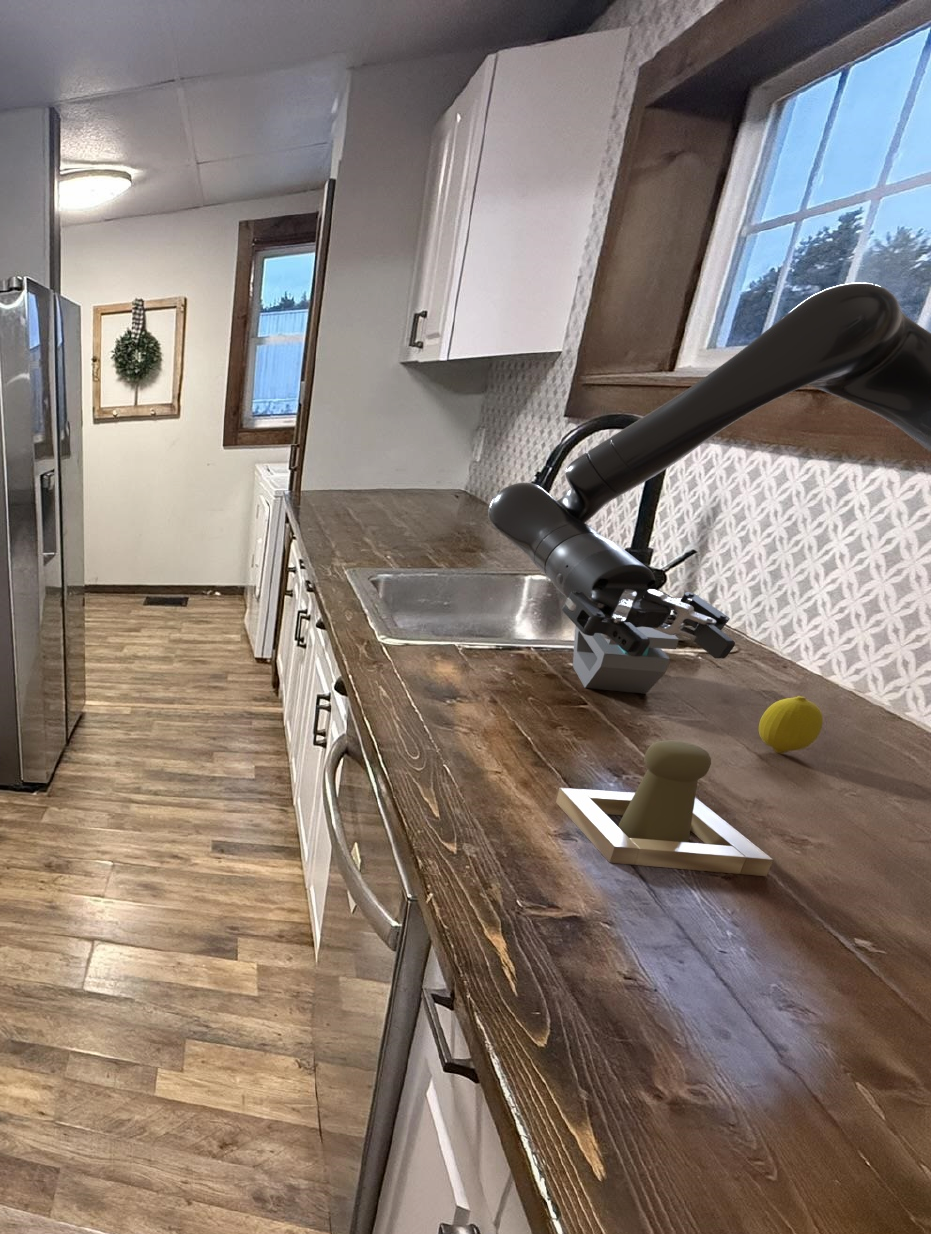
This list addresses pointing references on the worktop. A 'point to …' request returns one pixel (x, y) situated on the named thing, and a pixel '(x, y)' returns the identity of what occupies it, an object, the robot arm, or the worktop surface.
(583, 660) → the grey slotted holder
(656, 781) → the cork
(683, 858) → the wooden frame
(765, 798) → the worktop surface
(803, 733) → the lemon
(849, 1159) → the worktop surface
